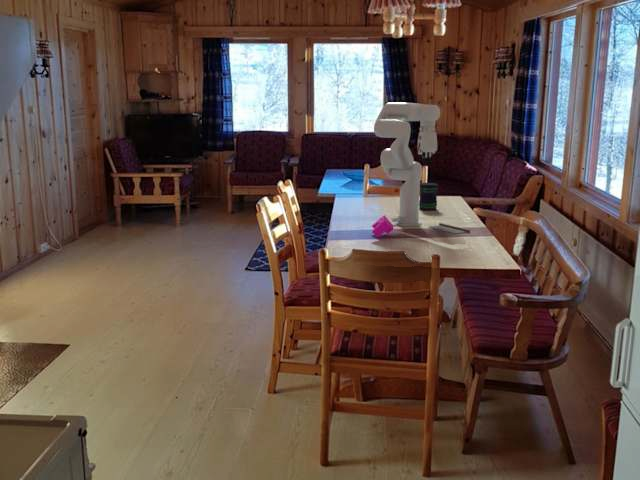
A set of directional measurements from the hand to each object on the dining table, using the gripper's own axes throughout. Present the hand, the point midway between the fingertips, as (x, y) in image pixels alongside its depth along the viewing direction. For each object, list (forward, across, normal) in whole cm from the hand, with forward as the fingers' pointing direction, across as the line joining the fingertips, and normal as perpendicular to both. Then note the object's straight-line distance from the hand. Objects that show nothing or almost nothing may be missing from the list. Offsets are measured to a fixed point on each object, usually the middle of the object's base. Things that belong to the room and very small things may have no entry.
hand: (426, 165), depth 336 cm
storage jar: (+28, +14, +14) cm, 34 cm away
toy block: (+21, -45, -29) cm, 57 cm away
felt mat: (+27, -14, -34) cm, 45 cm away
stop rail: (+27, -10, -34) cm, 44 cm away
